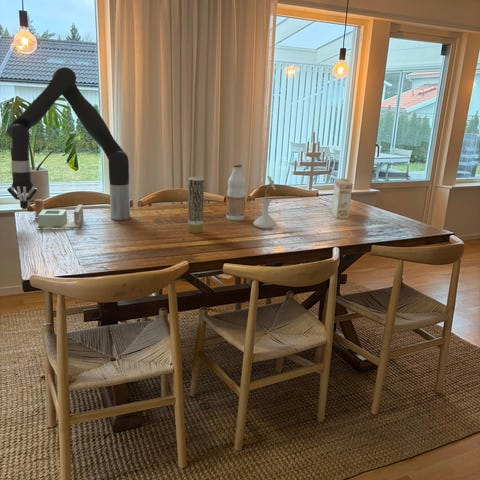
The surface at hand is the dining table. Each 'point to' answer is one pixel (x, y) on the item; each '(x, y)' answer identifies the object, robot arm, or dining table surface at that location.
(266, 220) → the flower in vase
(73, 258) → the dining table surface
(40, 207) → the dowel
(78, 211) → the backstop board
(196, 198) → the paper tube
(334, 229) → the dining table surface
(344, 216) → the coffeecake box
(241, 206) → the fruit juice
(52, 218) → the socket block
